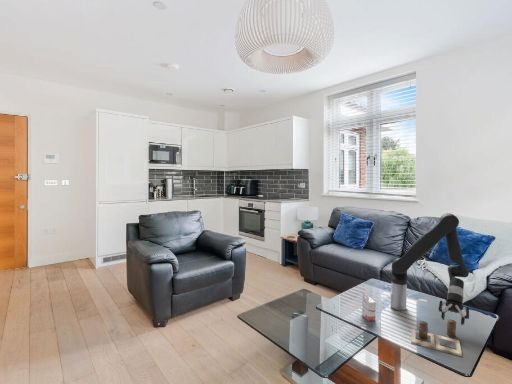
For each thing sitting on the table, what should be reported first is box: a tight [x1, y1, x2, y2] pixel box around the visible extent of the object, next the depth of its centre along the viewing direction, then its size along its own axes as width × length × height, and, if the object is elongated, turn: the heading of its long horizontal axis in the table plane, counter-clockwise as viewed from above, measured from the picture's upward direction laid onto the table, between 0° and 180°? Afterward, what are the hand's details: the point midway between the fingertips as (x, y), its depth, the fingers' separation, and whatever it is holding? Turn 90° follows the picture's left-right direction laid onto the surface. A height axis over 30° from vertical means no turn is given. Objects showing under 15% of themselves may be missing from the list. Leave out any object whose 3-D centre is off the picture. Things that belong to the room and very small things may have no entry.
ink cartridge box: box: [361, 292, 377, 322], centre depth 175 cm, size 9×5×15 cm, turn 5°
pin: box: [418, 320, 429, 339], centre depth 151 cm, size 4×4×8 cm
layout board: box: [410, 328, 463, 357], centre depth 148 cm, size 22×14×1 cm, turn 59°
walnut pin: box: [446, 319, 457, 338], centre depth 155 cm, size 4×4×8 cm
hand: (452, 321), depth 156 cm, fingers open, 8 cm apart
